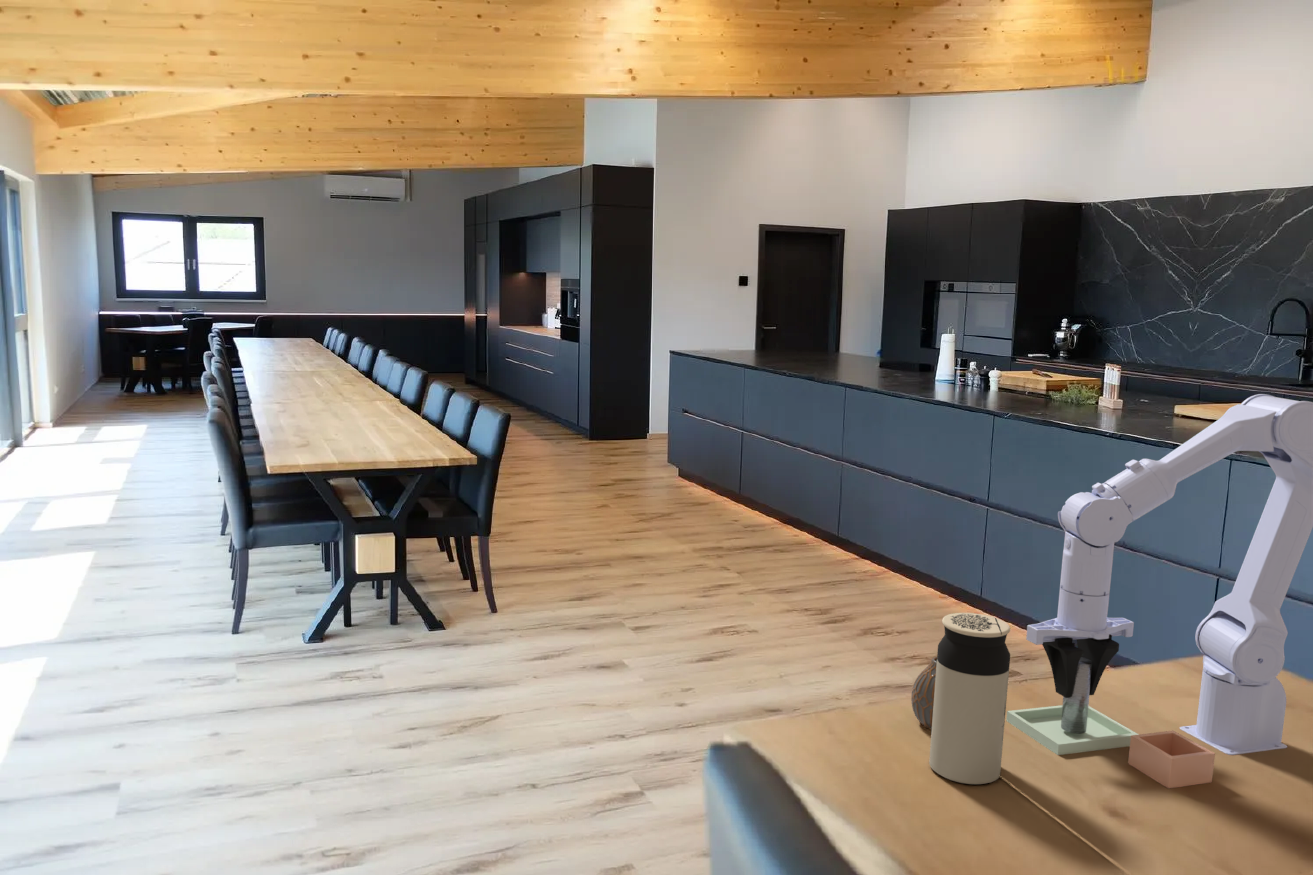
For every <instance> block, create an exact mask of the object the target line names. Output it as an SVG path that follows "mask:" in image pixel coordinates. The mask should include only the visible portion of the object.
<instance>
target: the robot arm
mask: <svg viewBox="0 0 1313 875" xmlns="http://www.w3.org/2000/svg"><path fill="white" fill-rule="evenodd" d="M1239 451H1241V452H1242V451H1243V452H1259V453H1261V454H1262V455H1263V457H1264V459H1265V460H1266V462H1267V463H1268V465H1269V467H1270V468H1271V470H1272V472H1274V474H1275V480H1274V483H1273V485H1272V488H1271V490H1270V493H1269V494H1268V497H1267V498H1268V499H1267V500H1266V503H1265V505H1264V509H1263V511H1262V513H1261V516H1260V519H1259V521H1258V523H1257V525H1256V529H1255V531H1254V533H1253V536H1252V539H1251V541H1250V544H1249V547H1248V549H1247V552H1246V554H1245V556H1244V559H1243V562H1242V564H1241V567H1240V570H1239V572H1238V574H1237V577H1236V580H1235V582H1234V585H1233V587H1232V590H1231V592H1229V593H1228V594H1227V595H1225V596H1223V597H1221V598H1219V599H1217V600H1216V601H1215V602H1214V604H1213V607H1212V609H1211V611H1210V612H1209V613H1208V615H1207V616H1206V617H1205V618H1203V619H1202V620H1201V622H1200V623H1199V624H1198V625H1197V627H1196V630H1195V636H1194V637H1195V638H1194V639H1195V644H1196V646H1197V648H1198V650H1199V652H1200V653H1202V654H1203V658H1202V666H1203V667H1202V673H1201V682H1200V683H1201V684H1200V692H1199V700H1198V709H1197V717H1196V724H1192V725H1183V726H1179V730H1181V731H1183V732H1184V733H1186V734H1188V735H1189V736H1192V737H1194V738H1196V739H1197V740H1199V741H1201V742H1203V743H1205V744H1207V745H1208V746H1211V747H1212V748H1214V749H1216V750H1218V751H1220V752H1221V753H1224V754H1226V755H1228V756H1236V755H1242V754H1243V755H1244V754H1251V753H1257V752H1266V751H1272V750H1280V749H1281V750H1282V749H1287V748H1288V745H1286V744H1284V743H1283V742H1282V740H1283V731H1284V723H1285V717H1286V716H1285V715H1286V708H1287V694H1286V690H1285V688H1284V685H1283V684H1282V682H1281V681H1280V679H1278V675H1279V674H1280V673H1281V671H1282V670H1283V669H1284V668H1283V667H1284V665H1285V658H1286V657H1285V650H1284V649H1285V642H1286V639H1287V636H1288V634H1289V632H1288V629H1287V626H1286V624H1285V622H1284V619H1283V617H1282V614H1281V608H1282V605H1283V604H1284V603H1283V602H1284V600H1285V598H1286V595H1287V593H1288V591H1289V587H1290V585H1291V583H1292V580H1293V577H1294V576H1295V573H1296V570H1297V568H1298V565H1299V563H1300V560H1301V558H1302V554H1303V553H1304V550H1305V547H1306V545H1307V544H1308V539H1309V537H1310V535H1311V532H1312V530H1313V401H1308V400H1301V401H1299V400H1294V399H1289V398H1283V397H1276V396H1274V395H1271V394H1267V393H1266V394H1265V393H1258V394H1254V395H1251V396H1249V397H1247V398H1246V399H1245V400H1243V401H1242V402H1241V404H1240V403H1238V404H1235V405H1233V406H1231V407H1229V408H1228V409H1227V410H1226V411H1225V413H1224V414H1223V415H1222V416H1221V417H1220V418H1219V419H1217V420H1216V421H1214V422H1213V423H1211V424H1209V426H1207V427H1205V428H1203V429H1202V430H1201V431H1200V432H1198V433H1197V434H1195V435H1194V436H1192V437H1191V438H1189V439H1188V440H1186V441H1185V442H1183V443H1182V444H1181V445H1179V446H1178V447H1176V448H1175V449H1173V450H1172V451H1170V452H1169V453H1167V454H1166V455H1165V456H1163V457H1162V458H1161V459H1159V460H1156V459H1150V458H1141V459H1140V460H1136V459H1131V460H1129V461H1128V462H1126V463H1125V464H1124V466H1125V468H1126V469H1124V470H1122V471H1121V472H1119V473H1117V474H1115V475H1114V476H1112V477H1110V478H1109V479H1107V480H1106V481H1105V482H1102V483H1100V482H1096V483H1095V484H1093V485H1092V486H1091V488H1092V489H1091V492H1089V491H1085V492H1083V491H1080V492H1078V493H1075V494H1073V495H1071V496H1070V497H1068V498H1067V500H1066V501H1065V502H1064V503H1065V504H1064V505H1063V506H1062V508H1061V510H1059V511H1058V512H1057V519H1058V523H1059V525H1060V527H1061V528H1062V529H1063V531H1064V539H1063V540H1064V542H1063V551H1062V560H1061V571H1060V581H1059V582H1060V584H1059V593H1058V606H1057V615H1056V616H1057V617H1055V618H1052V619H1048V620H1044V621H1041V622H1039V623H1032V624H1028V625H1027V626H1026V637H1025V639H1026V640H1027V641H1028V642H1030V643H1032V644H1034V645H1035V646H1036V645H1037V646H1038V645H1042V647H1043V649H1044V652H1045V654H1046V657H1047V658H1048V661H1049V665H1050V667H1051V671H1052V677H1053V682H1054V687H1055V688H1054V690H1055V693H1057V694H1058V695H1060V696H1062V697H1063V696H1064V697H1065V698H1070V697H1071V695H1072V692H1073V687H1074V679H1075V673H1076V669H1077V666H1078V663H1079V660H1080V658H1081V657H1083V658H1086V659H1089V660H1091V661H1092V671H1091V682H1090V694H1089V696H1094V695H1095V693H1096V691H1097V687H1098V685H1099V682H1100V680H1101V678H1102V675H1103V674H1104V671H1105V670H1106V668H1107V666H1108V665H1109V663H1110V662H1111V660H1112V659H1113V658H1114V657H1115V656H1116V654H1117V653H1118V652H1119V650H1120V643H1119V642H1117V641H1115V640H1113V639H1112V638H1113V637H1119V636H1123V637H1125V638H1131V637H1133V635H1134V628H1135V626H1134V625H1135V621H1132V620H1130V619H1127V618H1125V617H1108V613H1109V612H1108V611H1109V605H1110V604H1109V602H1110V593H1111V591H1110V590H1111V581H1112V574H1113V573H1112V572H1113V571H1112V570H1113V562H1114V551H1115V550H1114V549H1115V543H1118V542H1119V541H1120V540H1121V539H1122V538H1123V536H1124V535H1125V532H1126V529H1127V527H1128V525H1129V524H1131V523H1133V522H1135V521H1136V520H1138V519H1139V518H1141V517H1143V516H1144V515H1146V514H1148V513H1150V512H1151V511H1153V510H1154V509H1156V508H1157V507H1159V506H1161V505H1162V504H1164V503H1166V502H1168V501H1169V500H1171V499H1172V498H1173V497H1175V496H1174V495H1175V494H1176V489H1177V484H1178V483H1181V481H1183V480H1185V479H1187V478H1189V477H1191V476H1192V475H1194V474H1197V473H1198V472H1200V471H1202V470H1204V469H1206V468H1208V467H1210V466H1211V465H1213V464H1215V463H1217V462H1220V460H1222V459H1225V458H1226V457H1228V456H1230V455H1232V454H1234V453H1236V452H1239ZM1073 640H1076V643H1074V642H1073ZM1076 645H1077V646H1076Z"/></svg>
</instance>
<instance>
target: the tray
mask: <svg viewBox="0 0 1313 875" xmlns="http://www.w3.org/2000/svg"><path fill="white" fill-rule="evenodd" d="M1062 706H1063V704H1062V705H1049V706H1041V707H1033V708H1024V709H1023V708H1022V709H1014V710H1006V717H1005V721H1006V722H1007V723H1008V724H1010V725H1012V726H1013V727H1015V728H1016V729H1017V730H1019V731H1021V732H1022V733H1024V734H1025V735H1027V736H1028V737H1030V738H1031V739H1033V740H1035V742H1037V743H1039V744H1040V745H1042V746H1043V747H1045V748H1046V749H1048V750H1049V751H1051V752H1052V753H1054V754H1055V755H1057V756H1061V755H1069V754H1077V753H1087V752H1093V751H1102V750H1108V749H1117V748H1118V749H1119V748H1126V747H1130V740H1131V735H1139V734H1140V733H1138V732H1135V731H1134V730H1132V729H1131V728H1128V727H1126V726H1125V725H1123V724H1121V723H1119V722H1118V721H1116V720H1114V719H1112V718H1111V717H1109V716H1107V715H1106V714H1104V713H1102V712H1101V711H1099V710H1097V709H1095V708H1093V707H1092V706H1090V705H1089V706H1088V718H1087V729H1086V732H1085V733H1082V734H1076V733H1070V732H1067V731H1065V730H1063V729H1062V728H1061V718H1062Z"/></svg>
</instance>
